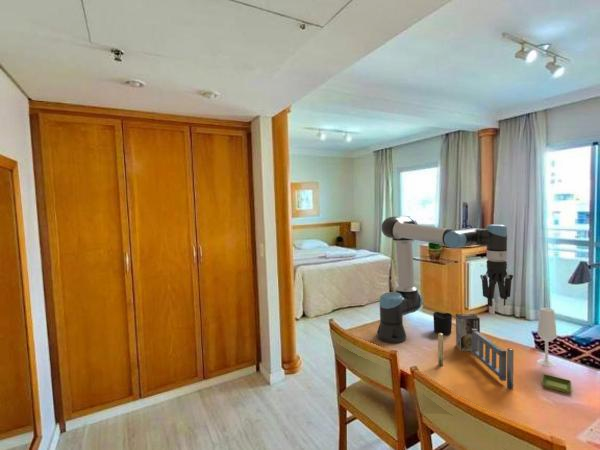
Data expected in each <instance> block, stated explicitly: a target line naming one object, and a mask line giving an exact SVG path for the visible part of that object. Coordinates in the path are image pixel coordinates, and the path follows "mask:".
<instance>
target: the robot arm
mask: <svg viewBox="0 0 600 450" xmlns="http://www.w3.org/2000/svg"><path fill="white" fill-rule="evenodd" d="M380 226H381V232H382V234H383V235H384V236H385V237H386V238H388V239H392V242H394V243H395V250H396V251H395V252H396V266H397V268H396V269H397V271H396V272H397V283H398V285H397V287H396V288H395V291H389V292H384V293H382V294H381V295H380V297H379V326H378V328H377V331H376V338H377V339H378V340H380V341H382V342H384V343H387V344H388V343H389V344H399V343H403V342H406V341H407V332H406V330H405V327H404V323H403V321H404V320H403V316H406V315H409V314H413V313H415V312H417V311H418V310H420V309H421V308H422V306H423V297H422V295H421V293H420V292H419V290H418V288H417V286H415V273H414V256H413V253H414V252H413V242H415V241H418V242H419V241H420V242H424V243H431V244H437V245H443V246H447V247H448V248H450V249H460V248H465V247H471V246H485V247H486V259H487V260H486V273H485V274H481V275H480V276H479V277H480V279H481V286H482V296H483V298H486V299H487V306H488V313H490V314H491V315H495V314H496V313H495V310H496V309H495V308H496V307H495V306H496V305H495V304H496V303H495V302H496V300H495V299H494V293H495V289H496V284H497V287H498V293H499V297H497V312H498V313H500V314H502V315H504V314H505V313H504V312H505V311H504V310H505V308H504V307H505V306H506V300H508V298H510V297H511V293H512V292H511V291H512V290H511V289H512V280H513V278H514V275H513V274H511V273H508V271H507V268H508V267H507V266H508V261H507V260H508V226H506V225H505V224H496V223H495V224H488V225H486V228H471V227H464V228H463V227H461V228H460V229H453V228H444V227H438V226H437V227H436V226H429V225H422V224H421V225H420V224H418V222H417V220H416V219H415V218H414V217H412V216H410V215H399V216H398V215H397V216H389V217H386V218H385V219H384V220H383V221H382V223H381V225H380Z"/></svg>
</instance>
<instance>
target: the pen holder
mask: <svg viewBox="0 0 600 450" xmlns="http://www.w3.org/2000/svg"><path fill="white" fill-rule="evenodd" d="M432 315H433V316H432V317H433V332H434V333H436V334H438V333H442V334H443V336H448V335H451V333H452V322H453V315H452V313H449V312H443V313H442V312H439V311H435V312H433V313H432Z"/></svg>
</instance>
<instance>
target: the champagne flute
mask: <svg viewBox="0 0 600 450" xmlns="http://www.w3.org/2000/svg"><path fill="white" fill-rule="evenodd" d="M536 333H537V335H538V337H540V339H541V340H543V341H544V358H540V359H538V360H536V363H537V364H539V365H541V366H544V367H548V368H553V367H557V364H556V363H555V362H553V361H552V360H551V359H549V342H552V341H554V340H555V339H556V338H557V325H556V315H555V309H553V308H550V307H541V308H540V310H539V318H538V325H537V332H536Z"/></svg>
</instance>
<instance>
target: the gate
mask: <svg viewBox="0 0 600 450" xmlns="http://www.w3.org/2000/svg"><path fill="white" fill-rule="evenodd" d="M477 339H479V351H477ZM484 346H485V347H484ZM490 352H491V354H490ZM471 355H472V357H476V358H477V359H478V360H479V361H480V362H481V363H482V364H484V366H486V367H487V368H488V369H489V370H490V371H492V372H493V373H494V374H495V375H496V376H497V377H498V379H499V380H500V381H501V382H505V381H506V382H507V350H506V349H504V348H501V347H500V346H499V345H497V344H496V343H495V342H493V341H492V340H490V339H489V338H488V337H487V336H485V335H484V334H482V333H481V332H480V333H479V332H478V331H477V329H472V351H471ZM484 355H485V356H484ZM490 355H491V356H490ZM497 355H498V367H497ZM490 359H491V361H490Z"/></svg>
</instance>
